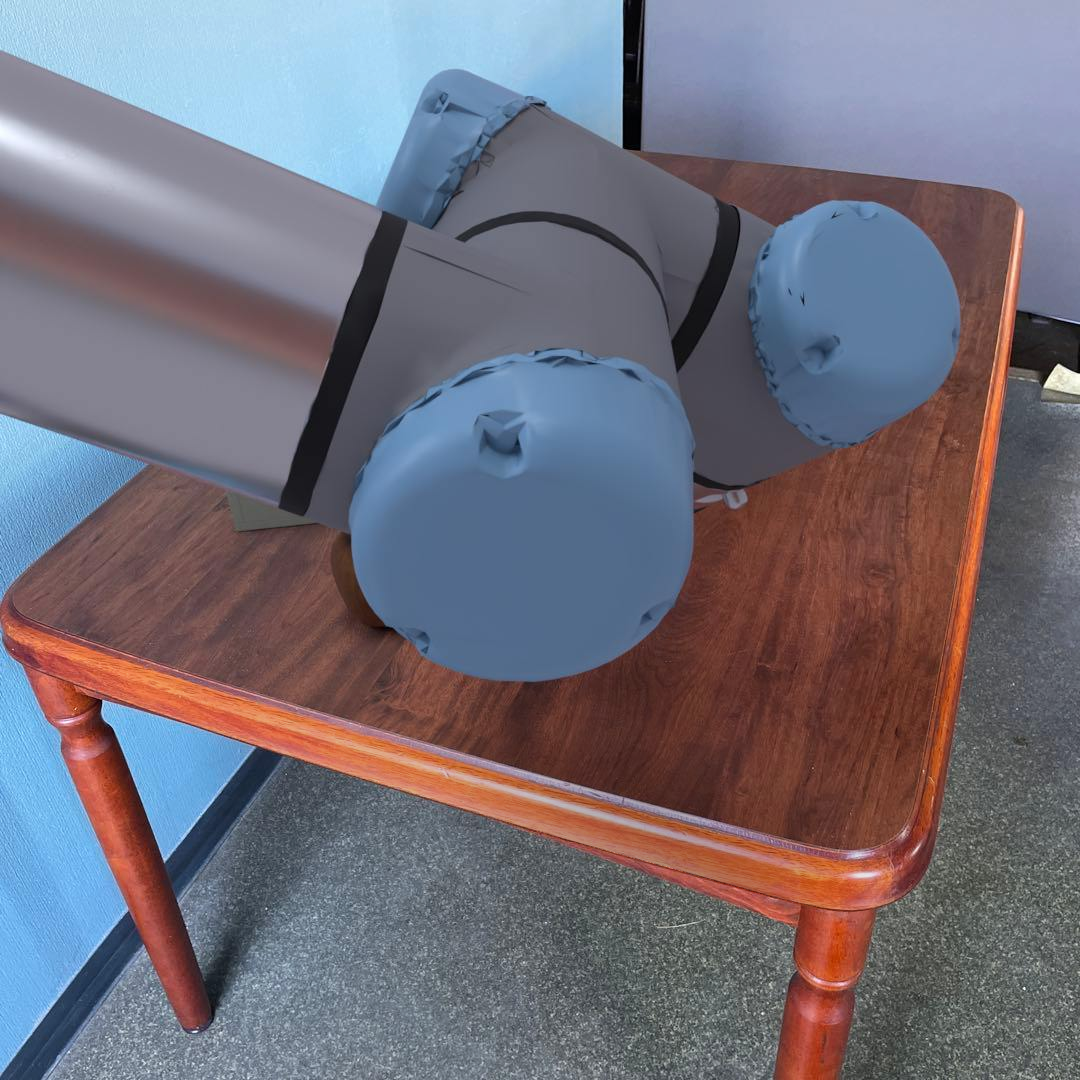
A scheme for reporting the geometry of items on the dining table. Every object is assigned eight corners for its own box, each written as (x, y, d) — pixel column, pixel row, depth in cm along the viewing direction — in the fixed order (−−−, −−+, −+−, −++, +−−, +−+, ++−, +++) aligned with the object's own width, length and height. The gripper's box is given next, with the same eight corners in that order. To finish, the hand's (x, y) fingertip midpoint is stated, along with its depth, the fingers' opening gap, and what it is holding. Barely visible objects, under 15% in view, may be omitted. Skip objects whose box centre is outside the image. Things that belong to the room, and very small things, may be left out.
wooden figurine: (417, 575, 82) (395, 405, 73) (445, 620, 78) (425, 445, 69) (332, 601, 80) (298, 430, 71) (356, 649, 76) (323, 473, 67)
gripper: (509, 584, 44) (390, 642, 65) (866, 447, 52) (656, 538, 73) (442, 416, 45) (346, 527, 66) (806, 304, 52) (615, 437, 73)
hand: (509, 533), depth 69 cm, fingers closed on beverage can, 7 cm apart
